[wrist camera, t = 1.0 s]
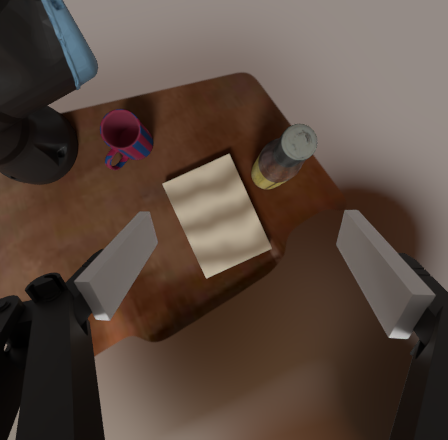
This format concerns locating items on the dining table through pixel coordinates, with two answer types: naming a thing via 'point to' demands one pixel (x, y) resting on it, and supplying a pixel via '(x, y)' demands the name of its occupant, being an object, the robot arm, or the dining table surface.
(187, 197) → the birch board
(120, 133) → the mug
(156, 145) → the dining table surface
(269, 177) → the sauce bottle
